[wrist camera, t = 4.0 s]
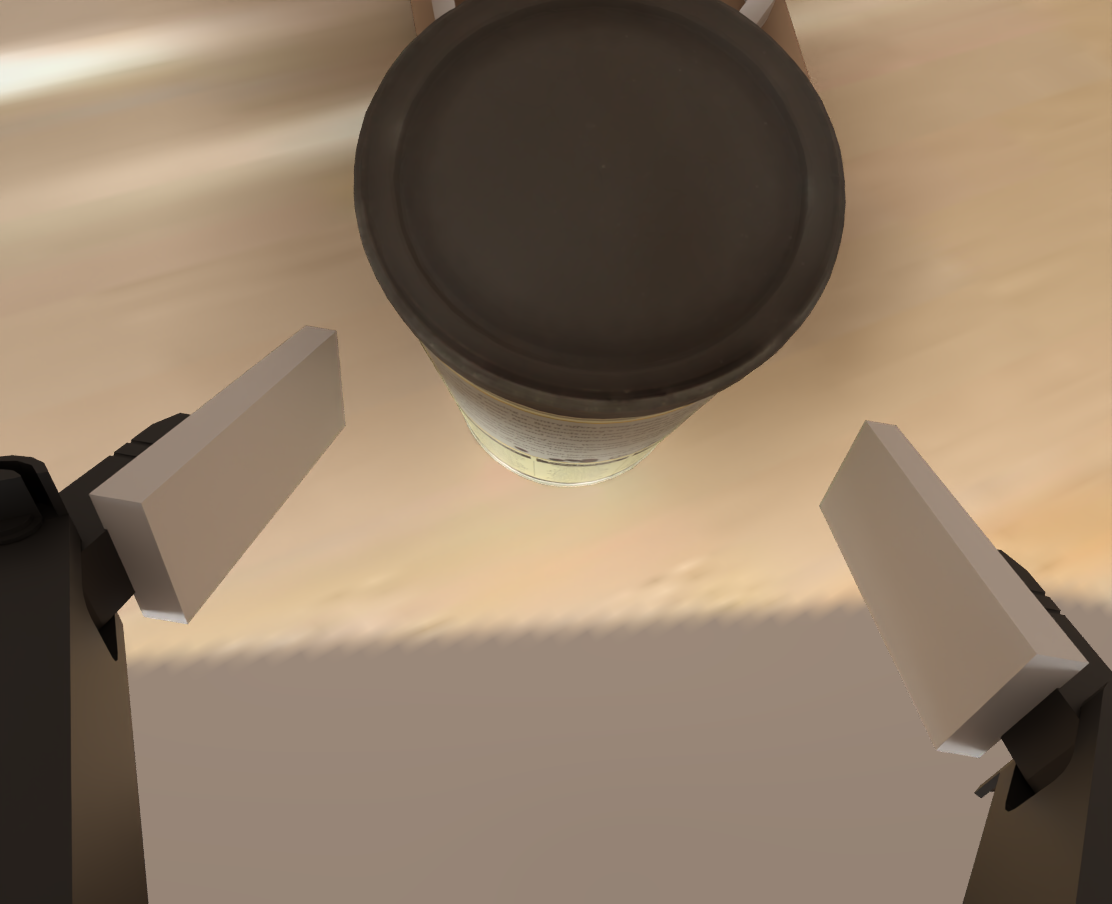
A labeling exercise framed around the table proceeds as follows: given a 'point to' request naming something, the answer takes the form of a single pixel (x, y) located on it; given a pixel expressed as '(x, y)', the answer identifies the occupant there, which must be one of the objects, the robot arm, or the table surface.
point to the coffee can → (596, 217)
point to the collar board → (757, 3)
